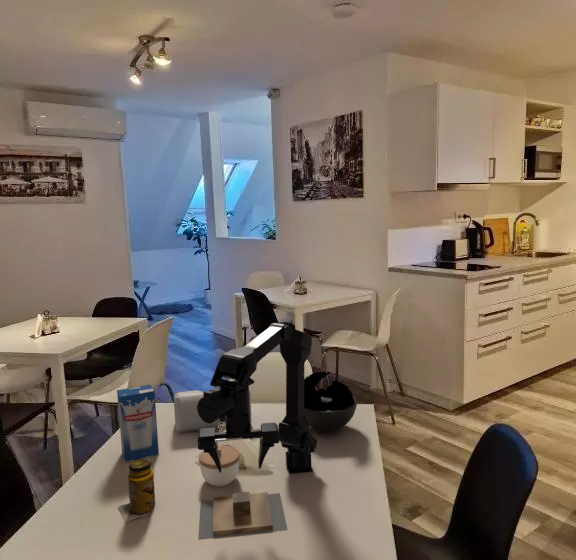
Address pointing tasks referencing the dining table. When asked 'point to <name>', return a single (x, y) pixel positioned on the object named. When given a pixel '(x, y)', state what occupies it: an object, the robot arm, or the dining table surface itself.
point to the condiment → (139, 490)
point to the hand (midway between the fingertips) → (240, 469)
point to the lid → (241, 513)
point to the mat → (207, 532)
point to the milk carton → (138, 422)
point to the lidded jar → (228, 466)
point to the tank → (191, 412)
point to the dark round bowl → (327, 404)
